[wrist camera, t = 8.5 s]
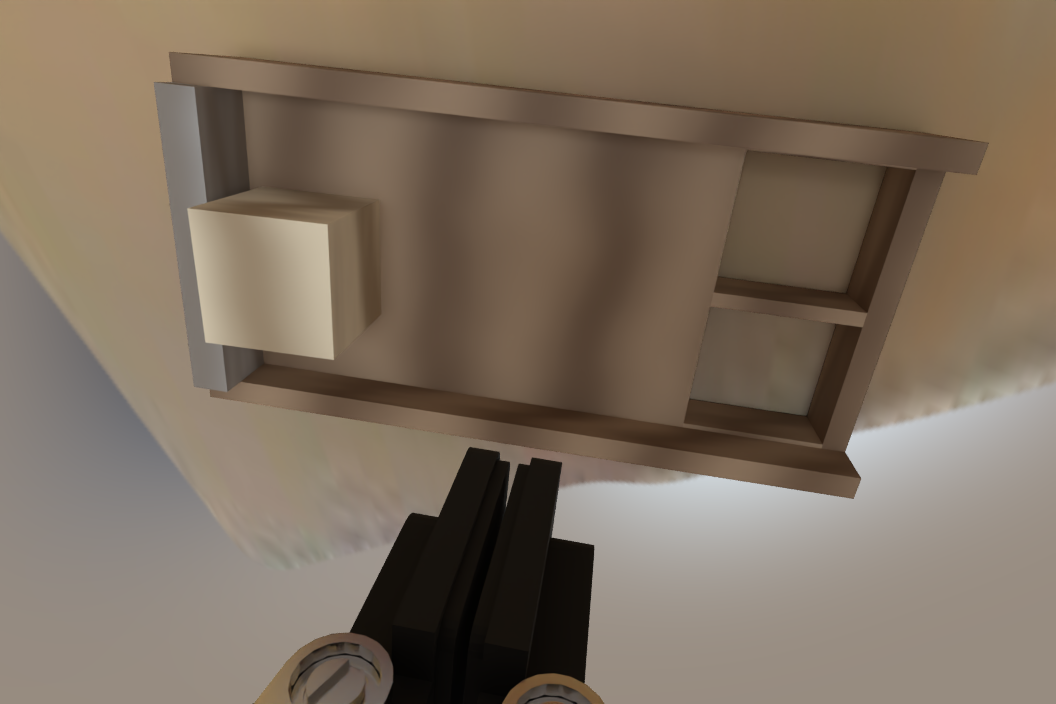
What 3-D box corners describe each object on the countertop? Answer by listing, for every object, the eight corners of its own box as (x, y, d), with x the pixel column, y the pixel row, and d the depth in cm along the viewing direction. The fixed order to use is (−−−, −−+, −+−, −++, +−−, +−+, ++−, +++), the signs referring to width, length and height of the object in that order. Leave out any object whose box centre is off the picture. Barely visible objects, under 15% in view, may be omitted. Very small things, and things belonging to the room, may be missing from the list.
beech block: (379, 199, 25) (327, 224, 21) (381, 314, 27) (333, 359, 23) (263, 186, 26) (187, 208, 21) (273, 300, 28) (205, 342, 23)
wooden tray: (926, 132, 24) (1006, 145, 19) (821, 441, 30) (862, 513, 25) (238, 57, 26) (149, 50, 21) (262, 356, 32) (196, 407, 27)
